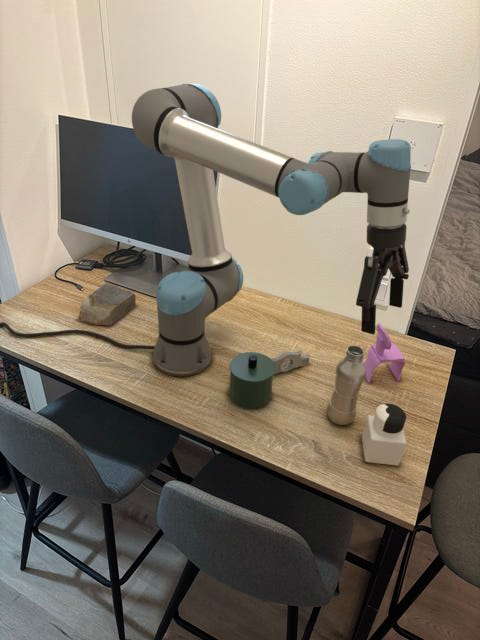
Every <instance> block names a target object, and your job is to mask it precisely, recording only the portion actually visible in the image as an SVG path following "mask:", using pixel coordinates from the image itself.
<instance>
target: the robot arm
mask: <svg viewBox="0 0 480 640" xmlns="http://www.w3.org/2000/svg"><path fill="white" fill-rule="evenodd" d="M221 121H222V110H221V105H220V103H219V101H218V98H217V97H216V95H215V94H214V93H213V92H212V91H211V90H210V89H209V88H208V87H207V86H205V85H202V84H199V83H182V84H178V85H177V84H176V85H173V86H165V87H161V88H160V87H159V88H152V89H149V90H147V91H145V92H144V93H142V94H141V95H140V96H139V97H138V98H137V100H136V101H135V103H134V105H133V107H132V110H131V125H132V128H133V132H134V134H135V135H136V137H137V139H138V140H139V141H140V142H141V143H142V144H143V145H144V146H146V147H147V148H148V149H150V150H152V151H154V152H156V153H158V154H161V155H163V156H165V157H167V158H173V159H174V162H175V167H176V173H177V178H178V185H179V189H180V196H181V200H182V206H183V211H184V217H185V222H186V227H187V232H188V238H189V244H190V249H191V255H190V256H189V257H188V259H187V266H188V270H180V271H179V272H178V271H175V272H174V271H173V272H171V273H168V274H167V275H165V276H164V277H163V278H162V279H161V280H160V282H159V283H158V285H157V290H156V300H155V301H156V307H157V321H158V323H157V324H158V336H157V339H156V342H155V345H143V344H124V343H120V342H118V341H116V340H114V339H112V338H111V337H109V336H106V335H103V334H100V333H98V332H97V333H96V332H94V331H90V330H85V329H84V330H83V329H67V330H66V329H65V330H57V331H44V332H43V331H42V332H35V333H21V332H17V331H15V330H13V329H12V327H11V326H9V324H8V323H6V322H4V321H3V322H0V327H4V328H5V329H6V330H7V331H8V332H9V334H12V335H13V336H16V337H19V338H36V337H46V336H47V337H49V336H59V335H66V334H81V335H88V336H91V337H96V338H99V339H101V340H104V341H107V342H108V343H110V344H113V345H115V346H117V347H119V348H122V349H127V350H128V349H129V350H135V349H136V350H151V351H152V350H153V353H152V361H153V365H154V366H155V368H156V369H157V370H158V371H160V372H161V373H163V374H165V375H168V376H171V377H177V378H178V377H180V378H181V377H182V378H183V377H191V376H195V375H198V374H200V373H202V372H204V371H205V370H206V369H207V368H208V367H209V366H210V364H211V362H212V349H211V345H210V344H209V341H208V338H207V336H206V332H205V331H206V330H205V329H206V319H207V317H208V316H210V315H211V314H213V313H214V312H216V311H217V310H218V309H220V308H221V307H223V306H224V305H225V304H226V303H229V302H230V301H232V300H233V299H234V298H235V297H236V296H237V295H238V294H239V293H240V291H241V290H242V287H243V285H244V273H243V270H242V267H241V265H240V264H238V261H237V260H236V259H235V258H234V257H233V255H232V253H231V251H229V250H227V249H226V245H225V241H224V233H223V228H222V220H221V213H220V208H219V200H218V193H217V186H216V181H215V174H214V173H215V172H217V173H219V174H221V175H223V176H225V177H228V178H231V179H233V180H236V181H238V182H240V183H242V184H244V185H247V186H250V187H252V188H255V189H257V190H259V191H262V192H263V193H267V194H269V195H271V196H273V197H276V198H278V199H279V201H280V204H281V205H282V206H283V207H284V208H285V210H286V211H287V212H288V213H290V214H291V215H296V216H304V215H309V214H310V213H313V212H314V211H315V212H316V211H317V210H319V209H321V208H322V207H323V206H324V205H325V204H326V203H328V202H330V201H331V200H333V199H334V198H336V197H337V196H339V195H341V194H343V193H353V194H354V193H356V194H367V205H366V206H367V207H366V223H367V225H366V244H368V245H369V246H370V247H372V249H373V250H372V254H371V256H368V255H367V256H365V257H364V260H363V261H364V262H363V263H364V264H363V265H364V266H363V271H362V276H361V278H360V284H359V288H358V292H357V296H356V302H355V305H356V306H357V307H361V330H360V331H361V332H362V333H366V334H370V335H375V334H376V321H377V320H376V317H377V304H375V303H376V299H377V296H378V293H379V290H380V287H381V285H382V281H383V278H384V277H385V276H386V275H387V274H388V271H389V272H390V275H391V276H392V277H391V278H390V280H389V281H390V283H389V299H388V300H389V301H388V305H389V306H391V307H395V308H400V309H401V308H403V297H404V283H405V280H408V279H409V276H410V275H409V274H410V273H409V271H410V267H409V263H408V257H407V251H406V241H407V227H408V226H407V224H406V223H407V220H408V214H410V211H411V210H410V209H409V208H408V207H409V191H410V180H411V169H412V164H411V160H412V159H411V155H412V153H411V152H412V151H411V149H412V147H411V144H410V142H408V141H407V140H404V139H397V138H392V139H391V138H390V139H380V140H375V141H373V142H371V143H370V144H369V146H368V150H367V151H364V152H352V151H349V152H348V151H347V152H346V151H344V152H343V151H333V150H332V151H331V150H329V151H325V152H323V151H321V152H315V153H313V154H312V155H311V156H310V159H309V160H308V162H305V161H302V160H300V159H297V158H294V157H292V156H290V155H287V154H285V153H282V152H280V151H277V150H274V149H272V148H269V147H266V146H264V145H261V144H260V143H257V142H253V141H250V140H248V139H246V138H243V137H240V136H237V135H236V134H233V133H230V132H228V131H225V130H222V129H220V128H219V126H220V125H221ZM408 273H409V274H408Z"/></svg>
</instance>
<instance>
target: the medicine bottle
mask: <svg viewBox="0 0 480 640" xmlns="http://www.w3.org/2000/svg"><path fill="white" fill-rule="evenodd" d="M406 421H407V415H406V412H405V411H404V410H403V408H402V407H400V406H399V405H396V404H394V403H388V402H387V403H386V402H385V403H381V404H379V405H378V406H377V407H376V409H375V412H374V415H371V414H368V415H367V417H366V421H365V424H364V427H363V432H362V435H361V441H362V448H363V449H362V450H363V455H364V461H365V462H366V463H372V464H379V465H380V464H382V465H388V466H389V465H390V466H396V467H397V466H399V465H400V463H401V461H402V456H403V454H404V451H405V449H406V446H407V438H406V434H405V430H404V427H405V424H406Z"/></svg>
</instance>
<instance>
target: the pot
mask: <svg viewBox="0 0 480 640" xmlns="http://www.w3.org/2000/svg"><path fill="white" fill-rule="evenodd" d="M229 373H230V374H229V399H230V400H231V401H232V403H233V404H235V406H238V407H239V408H242V409H246V410H256V409H261V408H263V407H265V406H266V405H267V404H268V403H269V402H270V400H271V397H272V390H273V381H274V375H273V376H272V377H271V378H270V379H268V380H266V381H264V382H259V383H249V382H244V381H241V380H239V379H237V378H236V377H234V376H233V375H232V373H231V372H229Z"/></svg>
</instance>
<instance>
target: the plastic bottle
mask: <svg viewBox="0 0 480 640" xmlns="http://www.w3.org/2000/svg"><path fill="white" fill-rule="evenodd" d="M364 355H365V350H364V349H363V348H362V347H361V346H359V345H354V344H352V345H348V346H347V347H346V350H345V354H344V357H343V358H341V359H340V360H339V361H338V362H337V364H336V365H335V366H336V367H335V381H334V387H333V392H332V394H331V397H330V399H329V401H328V404H327V406H326V415H327V417H328V418H329V420H330V421H331V422H332V423H333V424H336V425H338V426H339V425H340V426H347V425H349V424H352V422H353V421H354V419H355V418H356V416H357V403H358V397H359V393H360V390H361V387H362V385H363V383H364V382H365V379H366V377H365V376H366V367H365V365H364V363H365V362H363V361H364Z"/></svg>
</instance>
